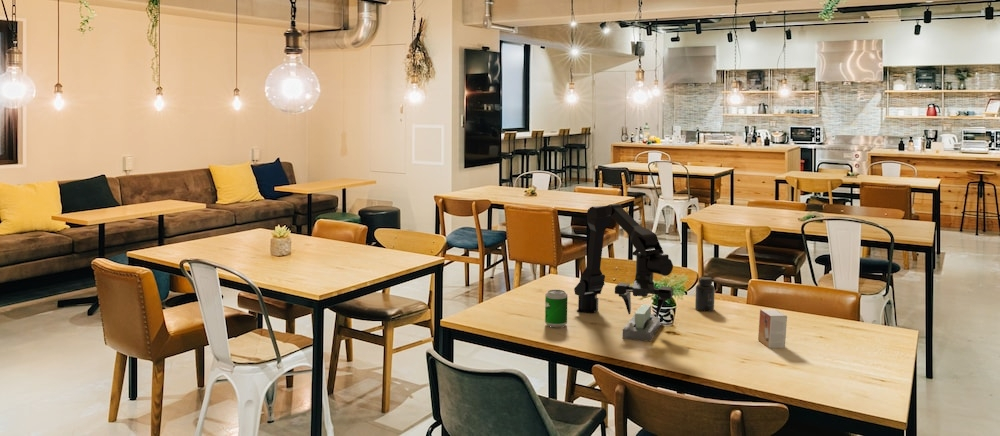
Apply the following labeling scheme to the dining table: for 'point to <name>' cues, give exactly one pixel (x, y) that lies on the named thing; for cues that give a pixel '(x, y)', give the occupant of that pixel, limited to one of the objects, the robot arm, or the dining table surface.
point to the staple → (642, 315)
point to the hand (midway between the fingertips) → (643, 315)
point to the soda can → (556, 308)
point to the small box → (772, 328)
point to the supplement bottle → (705, 295)
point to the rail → (641, 329)
